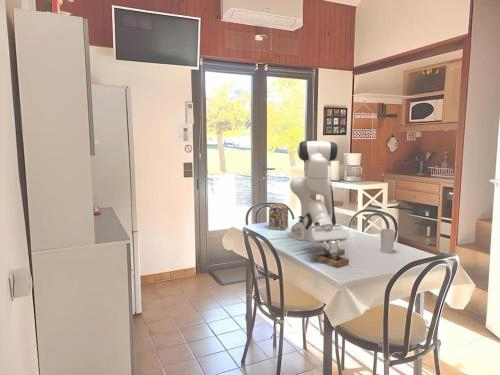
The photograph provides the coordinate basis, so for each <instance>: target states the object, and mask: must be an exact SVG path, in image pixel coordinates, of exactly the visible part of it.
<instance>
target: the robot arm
mask: <svg viewBox="0 0 500 375" xmlns="http://www.w3.org/2000/svg"><path fill="white" fill-rule="evenodd" d="M296 151H297V156H298V158H299V159H300V161H303V163H304V165H303V166H304V167H303V171H304V172H305V174H306V176H298V177H293V178H292V179H291V181H290V184H289V189H290V191H291V192H292V193H293V194H294V195H295V196H296V197H297V198H298V200H299V201H300V207H301V208H300V210H301V212H300V214H301V215H299V216H297V217H298V221H297V222H296V223H295V224H293V225H292V226H291V228H290V231H289V232H287V234H286V235H287V236H288V237H290V238H293V239H295V240H297V241H308V242H310V243H311V244H313V245H317V244H322V246H323V248H325V247H326V249H327V250H330V249H331V248H330V246H329V240H332V239H335V240H336V241H337V249H340V248H341V246H340V243H341V242H346V240H347V239H348V234H347V232H346V230H345V228H344V227H343V226H342V225H340V224H336V223H337V221H336V220H337V218H336V215H335V202H334V201H335V200H334V191H333V183H332V181H331V179H330V177H329V164H328V162H332V161H335V160H336V159H337V157H338V155H339V147H338V144H337V143H336V142H333V141H326V140H309V141H308V140H304V141H303V140H302V141H300V142H299V145H298V146H297V149H296ZM312 195H316V196H317V195H320V196H322V197H323V200H321V199H312V198H311V196H312ZM323 201H324V202H323Z"/></svg>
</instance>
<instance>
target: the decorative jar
mask: <svg viewBox="0 0 500 375" xmlns="http://www.w3.org/2000/svg"><path fill="white" fill-rule="evenodd" d="M288 227H289V208H288V205H285V204H283V203H282V202H275V204H272V205H270V207H269V209H268V230H272V231H273V230H274V231H275V230H276V231H286V230H287V229H288Z"/></svg>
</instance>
